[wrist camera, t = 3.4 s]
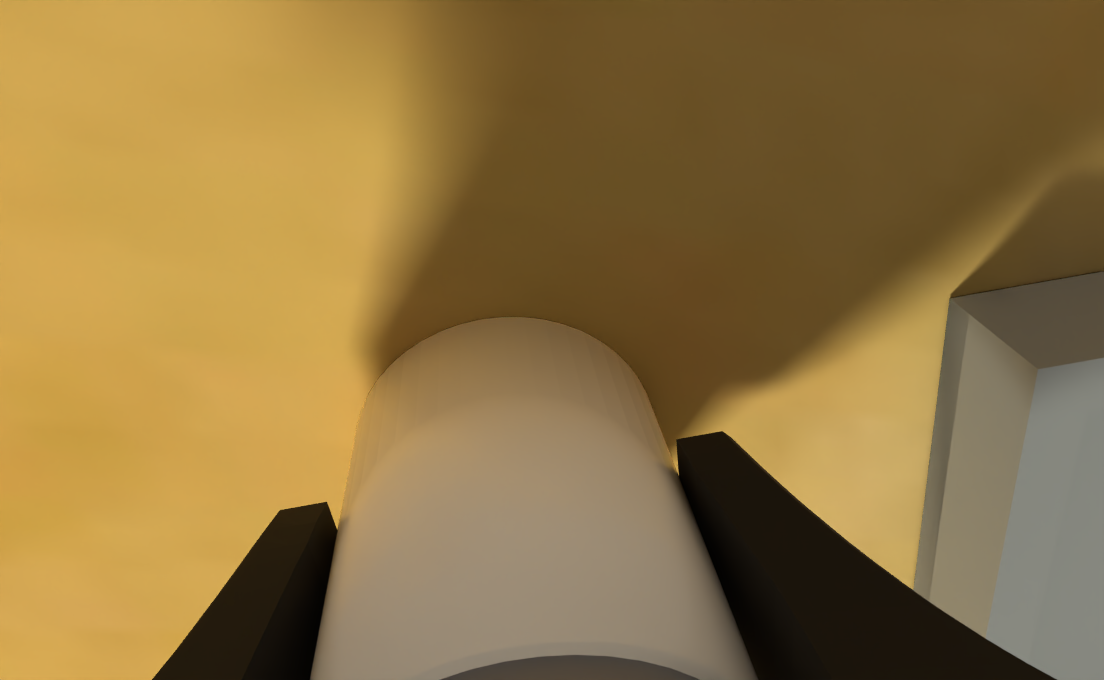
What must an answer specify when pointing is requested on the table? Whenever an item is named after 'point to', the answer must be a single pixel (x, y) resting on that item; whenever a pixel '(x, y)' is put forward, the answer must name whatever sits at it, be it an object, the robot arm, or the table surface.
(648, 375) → the table surface
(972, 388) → the tray
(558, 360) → the cylinder
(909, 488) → the table surface
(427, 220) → the table surface
